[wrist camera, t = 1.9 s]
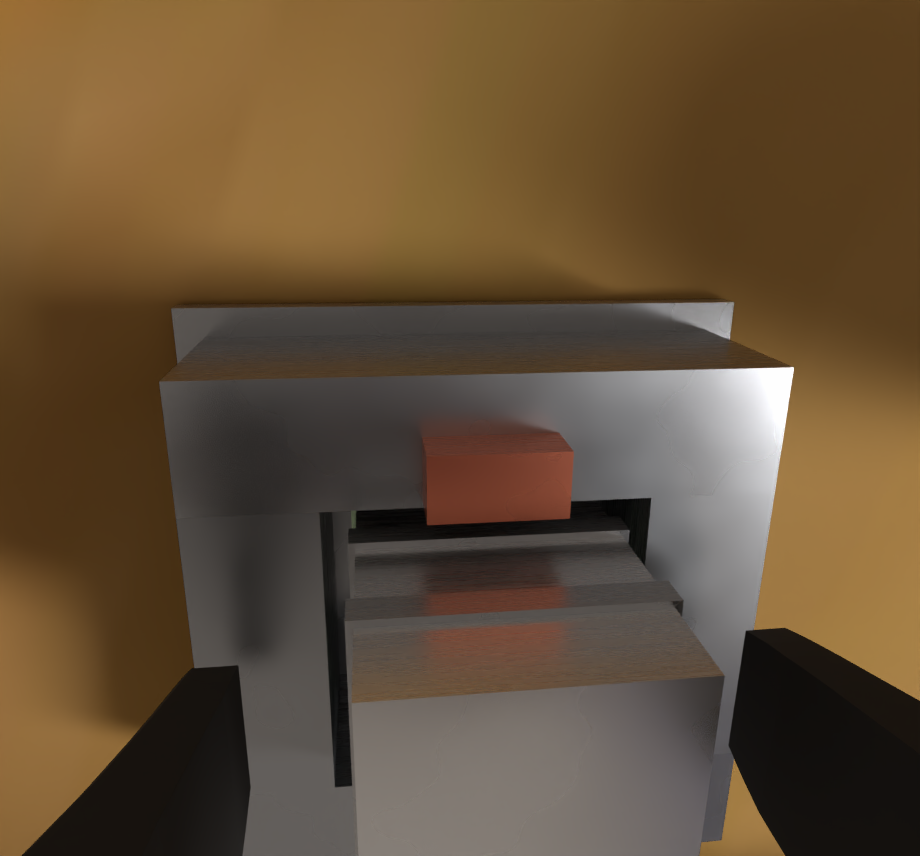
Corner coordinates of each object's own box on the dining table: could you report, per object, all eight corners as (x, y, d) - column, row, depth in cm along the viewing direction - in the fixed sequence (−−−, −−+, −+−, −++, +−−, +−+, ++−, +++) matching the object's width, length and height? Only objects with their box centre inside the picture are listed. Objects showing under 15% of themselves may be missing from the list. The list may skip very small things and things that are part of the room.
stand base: (724, 298, 14) (865, 344, 10) (672, 732, 17) (765, 897, 13) (177, 304, 13) (93, 358, 9) (228, 769, 16) (184, 962, 12)
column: (572, 455, 14) (734, 667, 8) (561, 642, 16) (692, 950, 9) (351, 463, 14) (340, 695, 7) (359, 656, 15) (355, 991, 9)
